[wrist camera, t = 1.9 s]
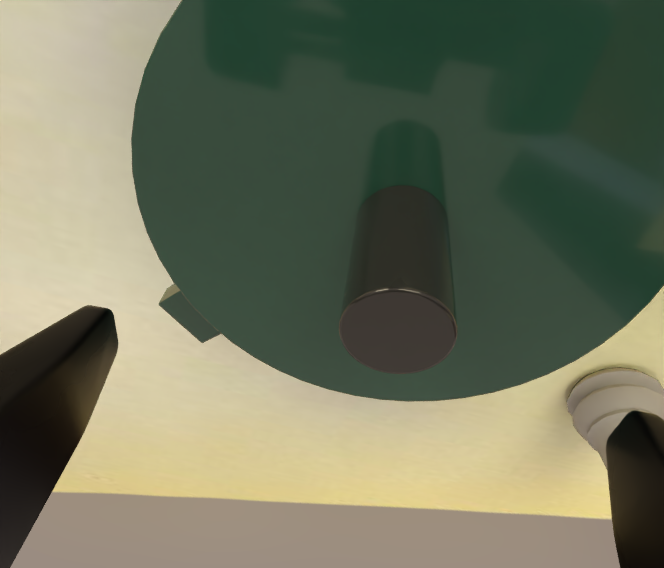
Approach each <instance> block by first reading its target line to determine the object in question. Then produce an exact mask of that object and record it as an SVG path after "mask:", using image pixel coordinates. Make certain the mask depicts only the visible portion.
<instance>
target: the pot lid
mask: <svg viewBox="0 0 664 568" xmlns="http://www.w3.org/2000/svg"><path fill="white" fill-rule="evenodd" d="M131 141H132V172H133V178H134V184H135V190H136V195H137V201H138V205H139V208H140V212H141V215H142V218H143V221H144V224H145V227H146V231H147V233H148V235H149V238H150V240H151V242H152V244H153V246H154V248H155V251H156V253H157V255H158V257H159V259H160V261H161V262H162V264H163V266H164V267H165V269H166V270H167V272H168V274H169V275H170V277H171V279H172V280H173V282H174V283H175V285H176V286H177V287H178V288H179V290H180V291H181V292H182V294H183V295H184V296H185V297H186V299H187V300H188V301H189V302H190V304H191V305H192V306H193V307H194V308H195V309H196V310H197V311H198V312H199V313H200V314H201V315H202V316H203V317H204V318H205V319H206V320H207V321H208V322H209V323H210V324H211V325H212V326H213V327H214V328H215V329H217V330H218V331H219V332H220V333H221V334H223V335H224V336H225V337H226V338H227V339H229V340H230V341H231V342H232V343H234V344H235V345H237V346H238V347H240V348H241V349H243V350H244V351H246V352H247V353H249V354H250V355H252V356H253V357H255V358H257V359H258V360H260V361H262V362H264V363H266V364H268V365H269V366H271V367H273V368H275V369H277V370H279V371H281V372H283V373H286V374H288V375H290V376H293V377H295V378H297V379H299V380H302V381H305V382H308V383H311V384H314V385H317V386H320V387H323V388H326V389H329V390H333V391H337V392H342V393H346V394H350V395H354V396H361V397H367V398H374V399H381V400H395V401H440V400H449V399H459V398H467V397H472V396H477V395H483V394H488V393H493V392H496V391H500V390H503V389H507V388H511V387H514V386H518V385H521V384H524V383H526V382H529V381H531V380H534V379H537V378H539V377H542V376H544V375H547V374H549V373H551V372H553V371H555V370H557V369H559V368H561V367H563V366H566V365H568V364H570V363H572V362H574V361H576V360H577V359H579V358H580V357H582V356H584V355H585V354H587V353H588V352H590V351H592V350H593V349H595V348H596V347H598V346H600V345H601V344H603V343H604V342H605V341H606V340H608V339H609V338H610V337H612V336H613V335H614V334H615V333H617V332H618V331H619V330H621V329H622V328H623V327H625V326H626V325H627V324H628V323H629V322H630V321H631V320H632V319H633V318H634V317H635V316H636V315H637V314H638V313H639V312H640V311H641V310H642V309H643V308H645V307H646V306H647V305H648V304H649V303H650V302H651V300H652V299H653V298H654V297H655V295H656V294H657V293H658V292H659V290H660V289H661V288H662V287H663V286H664V0H182V1H181V2H180V4H179V5H178V7H177V9H176V10H175V12H174V13H173V15H172V16H171V18H170V20H169V21H168V23H167V24H166V26H165V27H164V29H163V30H162V32H161V34H160V36H159V38H158V40H157V43H156V45H155V47H154V49H153V52H152V54H151V56H150V58H149V61H148V63H147V65H146V67H145V70H144V74H143V78H142V81H141V85H140V89H139V93H138V96H137V100H136V104H135V112H134V121H133V129H132V138H131Z"/></svg>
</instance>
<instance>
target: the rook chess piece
mask: <svg viewBox="0 0 664 568" xmlns="http://www.w3.org/2000/svg"><path fill="white" fill-rule="evenodd" d="M567 407H568V412H569V413H570V414H571V415H572V417H573V426H574V427H575V429H576V430H577V432H578V433H579V434H580V435H581V436H582V437H583V438H584V439H585V440H586V441H588V443H589V444H590V445H591V446H592V448H593V449H594V450H596V451H598V453H599V454H600V456H601V458H602V460H603V462H604V464H605V466H606V469H607V459H606V443H607V439H608V437H609V436H610V434H611V433H612V432H613V430H614V429H615V428H616V427H617V426H618V424H619V423H620V422H621V421H622V419H623V418H624V417H625V416H626V415H627V414H628V413H629V412H631V411H633V410H637V411H642V412H647V413H652V414H656V415H658V416H659V417H661V418H662V419H663V420H664V389H663V387H662V386H661V384H660V383H659V382H658V380H656V379H654V378H652V377H650V376H648V375H646V374H644V373H642V372H640V371H637V370H634V369H627V368H612V369H603V370H600V371H598V372H595V373H592V374H590V375H587V376H586V377H585V378H583V379H582V380H581V381H580V382H578V383H577V384H576V386H575V387H574V389H573V390H572V392H571V394H570V396H569V398H568V399H567ZM607 471H608V470H607Z"/></svg>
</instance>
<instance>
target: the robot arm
mask: <svg viewBox="0 0 664 568" xmlns="http://www.w3.org/2000/svg"><path fill="white" fill-rule="evenodd" d="M117 349H118V338H117V332H116V326H115V320H114V315H113V312H112V311H111V310H110V309H108V308H102V307H97V306H92V305H87V306H84V307H82V308H80V309H79V310H77V311H75V312H73V313H72V314H70V315H68V316H67V317H65V318H63V319H61V320H60V321H58V322H56V323H54V324H53V325H51V326H49V327H48V328H46V329H44V330H42V331H41V332H39V333H37V334H35V335H34V336H32V337H30V338H28V339H27V340H25V341H23V342H22V343H20V344H18V345H16V346H15V347H13V348H11V349H9V350H8V351H6V352H4V353H3V354H1V355H0V568H10V567H11V565H12V563H13V561H14V559H15V558H16V556H17V554H18V552H19V550H20V549H21V547H22V545H23V543H24V541H25V539H26V538H27V536H28V534H29V532H30V530H31V529H32V527H33V525H34V523H35V521H36V520H37V518H38V516H39V514H40V512H41V510H42V509H43V507H44V505H45V503H46V501H47V499H48V498H49V496H50V494H51V492H52V490H53V489H54V487H55V485H56V483H57V481H58V479H59V478H60V476H61V474H62V472H63V470H64V469H65V467H66V465H67V463H68V461H69V459H70V458H71V456H72V454H73V452H74V450H75V449H76V447H77V445H78V443H79V441H80V439H81V437H82V435H83V433H84V431H85V429H86V427H87V424H88V422H89V420H90V417H91V415H92V413H93V410H94V408H95V405H96V403H97V400H98V398H99V395H100V393H101V391H102V388H103V386H104V383H105V381H106V378H107V376H108V373H109V371H110V369H111V366H112V364H113V361H114V359H115V356H116V353H117ZM606 459H607V470H608V481H609V491H610V502H611V513H612V522H613V530H614V537H615V543H616V548H617V553H618V558H619V563H620V568H664V420H663V419H662V418H661V417H659V416H658V415H656V414H652V413H647V412H642V411H637V410H633V411H631V412H629V413H628V414H627V415H626V416H625V417H624V418H623V419H622V421H621V422H620V423H619V424H618V426H617V427H616V428H615V429H614V430H613V432H612V433H611V434H610V436H609V437H608V439H607V443H606Z"/></svg>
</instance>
